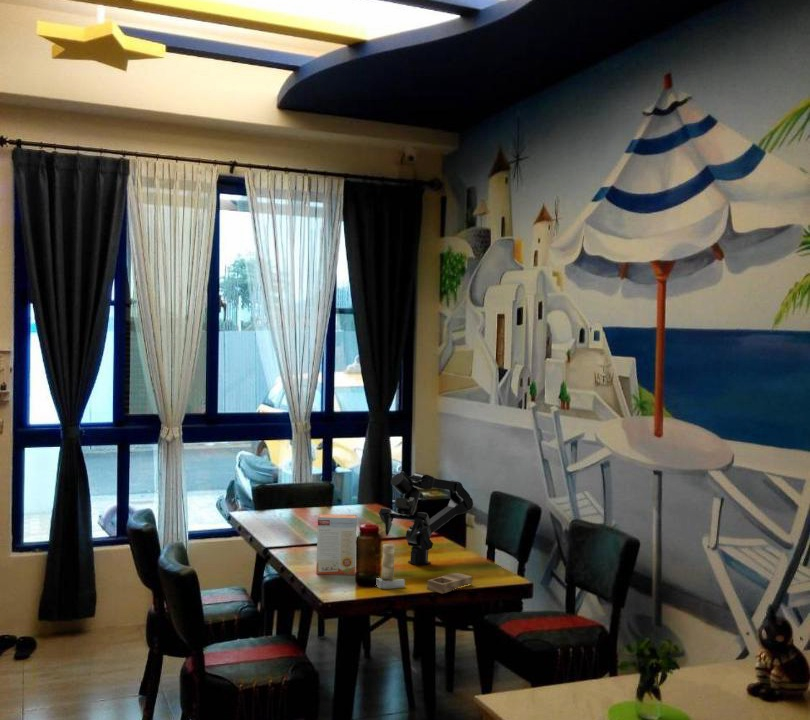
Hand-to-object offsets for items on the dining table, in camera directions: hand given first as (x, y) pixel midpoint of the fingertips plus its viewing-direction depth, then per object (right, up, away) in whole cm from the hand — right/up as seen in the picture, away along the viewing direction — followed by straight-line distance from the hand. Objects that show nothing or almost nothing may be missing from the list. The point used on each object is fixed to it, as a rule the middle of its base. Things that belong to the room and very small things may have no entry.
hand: (398, 536), depth 312 cm
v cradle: (-4, -14, -17) cm, 22 cm away
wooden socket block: (+18, -15, -14) cm, 27 cm away
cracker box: (-23, -13, -2) cm, 26 cm away
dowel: (-4, -14, -15) cm, 21 cm away
